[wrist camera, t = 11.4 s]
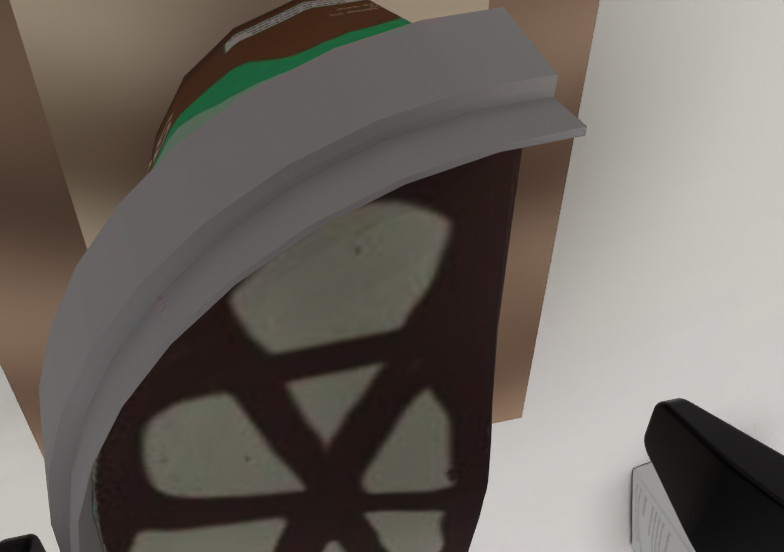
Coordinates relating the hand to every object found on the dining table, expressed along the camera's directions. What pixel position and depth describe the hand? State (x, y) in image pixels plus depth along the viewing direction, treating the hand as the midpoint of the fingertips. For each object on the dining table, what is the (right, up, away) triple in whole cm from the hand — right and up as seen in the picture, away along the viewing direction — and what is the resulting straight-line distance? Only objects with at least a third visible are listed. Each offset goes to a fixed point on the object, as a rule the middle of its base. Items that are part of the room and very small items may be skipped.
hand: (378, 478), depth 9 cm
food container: (-4, +5, +7) cm, 9 cm away
